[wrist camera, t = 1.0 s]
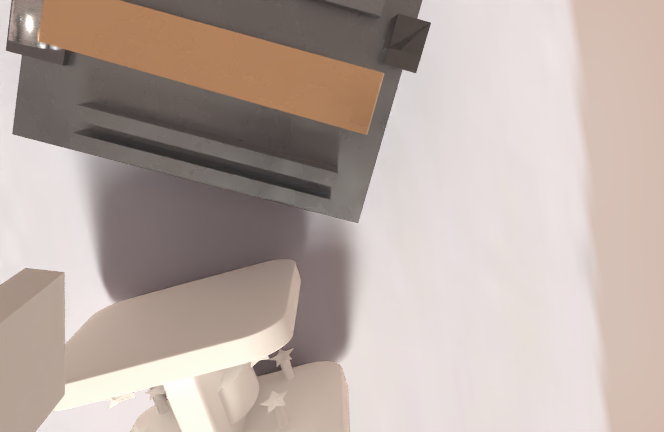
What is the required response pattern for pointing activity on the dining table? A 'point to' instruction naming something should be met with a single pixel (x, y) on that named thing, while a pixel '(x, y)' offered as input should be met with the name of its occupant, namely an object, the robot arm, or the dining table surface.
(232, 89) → the strap
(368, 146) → the grey stepped block
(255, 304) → the cable organizer
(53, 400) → the robot arm
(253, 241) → the dining table surface
